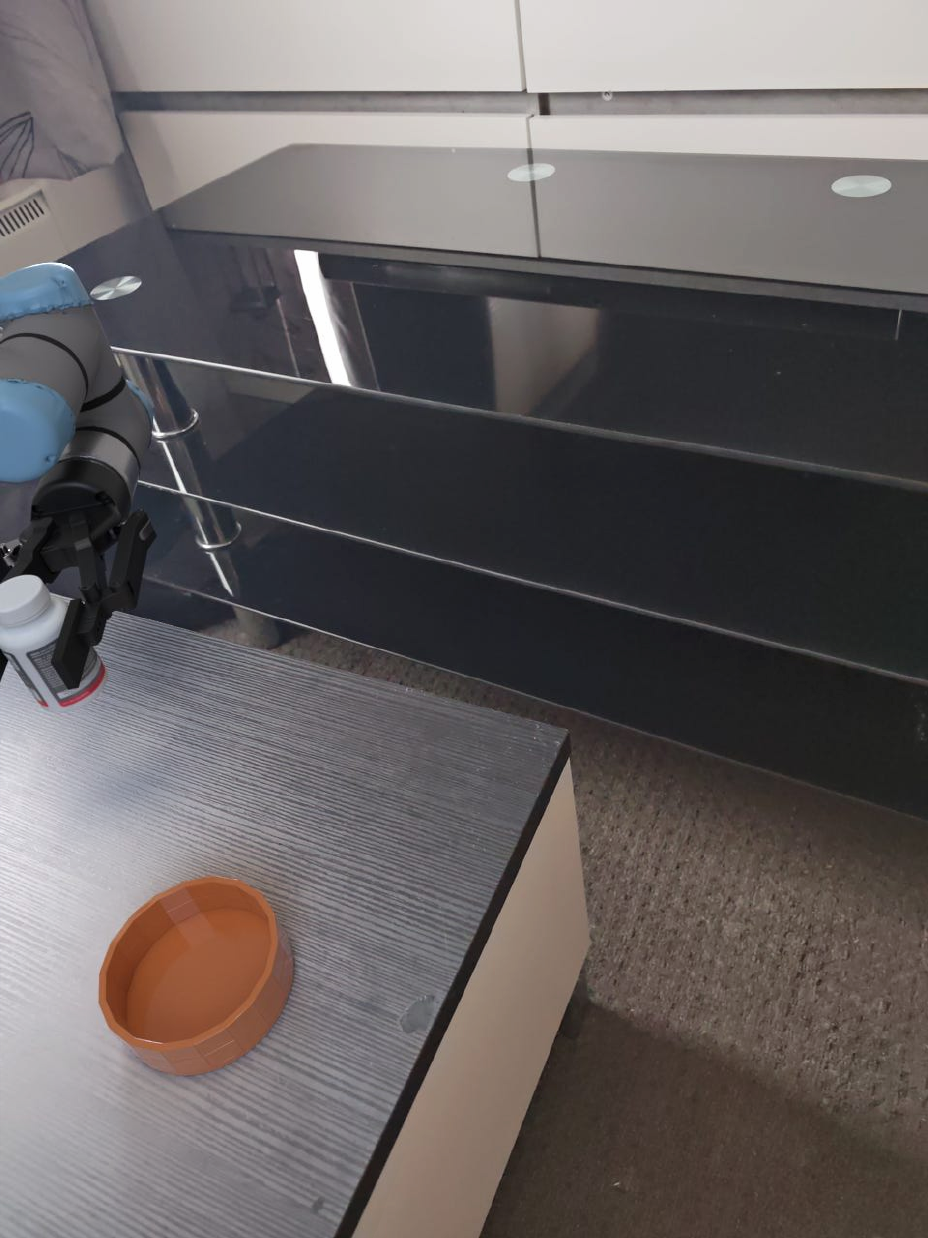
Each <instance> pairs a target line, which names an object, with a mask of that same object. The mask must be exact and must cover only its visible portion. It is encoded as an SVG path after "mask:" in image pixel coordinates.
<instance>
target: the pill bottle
mask: <svg viewBox="0 0 928 1238" xmlns="http://www.w3.org/2000/svg"><path fill="white" fill-rule="evenodd" d="M68 606H69V603H67V602H66V601H65V600H64V599H62V598H61V597H58V596H55V595H51V593H50V590H49V588H48V587H47V586H46V584H45V585H44V583H43V582H42V580H41V579H40V578H39V577H37V576H34V575H22V576H18V577H14V578H12V579H9V580H7V581H5V582H3V583H2V584H0V649H1V650H2V652H3V653H4V655H5V656H6V657H7V659H8V663H9V664H10V665H11V666H12V668H13V669H14V671H15V672H16V674H17V675H18V676H19V678H20V679H21V681H22V682H23V683H24V684H25V686H26V688H27V689H28V691H29V692H30V693H31V695H32V697H34V699H35V700H36V702H37V703H38V704H39V706H40V707H41V708H42V709H44V711H47V712H50V713H53V714H54V713H55V714H63V713H69V712H73V711H76V710H78V709H81V708H82V707H85V706H86V705H88V704H90V703H91V702H92V701H94V700H95V699H96V698H97V697H99V695H101V693H102V692H103V691H104V689H105V687H106V685H107V682H108V679H109V673H108V669H107V667H106V665H105V664H104V662H103V661H102V659H101V657H100V656H99V654H98V652H97V650H96V649H95V646H92V647H90V650H89V654H88V657H87V661H86V664H85V668H84V671H83V675H82V679H81V682H80V686H79V688H76V689H71V690H68V689H67V687H66V686H65V684H64V683H63V681H62V680H61V678H60V677H59V675H58V673H57V672H56V670H55V669H54V667H53V666H52V664H51V663H50V662H51V659H52V656H53V653H54V650H55V646H56V643H57V640H58V637H59V634H60V631H61V628H62V625H63V622H64V618H65V615H66V612H67V609H68Z"/></svg>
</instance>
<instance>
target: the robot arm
mask: <svg viewBox="0 0 928 1238" xmlns="http://www.w3.org/2000/svg"><path fill="white" fill-rule="evenodd" d="M94 305H95V303H94V301H93V300H92V299H91V298H90V296H89V295H88V293H87V291H86V288H85V287H84V285H83V283H82V281H81V279H80V277H79V275H78V274H77V272H76V271H75V270H74V269H73V268H72V267H71V266H68V265H67V264H63V263H58V262H46V263H39V264H33V265H30V266H26V267H22V268H20V269H16V270H14V271H12V272H10V273H8V274H6V275H4V276H2V277H0V327H1V328H2V330H3V333H2V334H1V336H0V481H1V482H6V483H24V482H29V481H34V480H37V479H40V480H39V482H38V484H37V487H36V489H35V492H34V493H33V496H32V499H31V503H30V514H29V523H28V524H27V525H26V526H25V527H24V528H22V530H20V532H19V534H18V538H16V539H12V540H10V541H7V542H5V543H0V584H2V583H3V582H5V581H7V580H9V579H12V578H14V577H18V576H22V575H34V576H37V577H39V578H40V579H41V580H42V582H43V583H44V585H45V586H46V585H52V584H53V583H54V582H55V581H56V579H57V578H58V577H59V575H60V574H61V573H62V571H63V570H66V569H69V568H78V573H79V579H80V586H81V587H80V586H78V590H79V591H80V593H81V595H82V596H83V598H84V601H83V599H82V597H79V598H74V599H70V600H69V603H68V609H67V612H66V615H65V618H64V622H63V625H62V628H61V631H60V634H59V637H58V640H57V643H56V646H55V650H54V653H53V656H52V659H51V662H50V663H51V664H52V666H53V667H54V669H55V670H56V672H57V673H58V675H59V677H60V678H61V680H62V681H63V683H64V684H65V686H66V687H67V689H68V690H71V689H76V688H79V686H80V682H81V679H82V675H83V671H84V668H85V664H86V661H87V657H88V654H89V650H90V647H92V646H93V647H96V646H99V644H100V643H101V642H102V640H103V636H104V633H105V630H106V626H107V622H108V621H109V620H110V619H111V618H112V617H113V615H114V613H115V612H116V611H119V610H121V611H122V612H125V613H127V612H131V611H133V610H135V609H136V608H137V607H138V603H139V598H140V593H141V589H142V588H141V587H142V581H143V575H144V571H145V565H146V559H147V554H148V550H149V549H150V547H151V546H152V544H153V543H154V542H155V540H156V538H157V536H158V535H157V532H156V530H155V528H154V525H153V524H152V521H151V520H150V517H149V515H148V513H147V511H146V510H145V509H142V508H141V509H136V510H135V511H133V512H132V513H131V510H132V505H133V501H134V497H135V494H136V491H137V486H138V483H139V480H140V476H141V470H142V467H143V464H144V460H145V457H146V455H147V452H148V450H149V449H150V446H151V443H152V438H153V430H154V410H153V407H152V404H151V401H150V399H149V397H148V396H147V395H146V394H145V392H143V390H141V389H140V388H139V387H138V386H137V385H135V384H134V383H133V382H132V381H129V380H128V379H126V377H125V376H124V374H123V372H122V370H121V367H120V365H119V362H118V361H117V359H116V356H115V354H114V351H113V349H112V346H111V345H110V341H109V340H108V337H107V334H106V333H105V331H104V329H103V325H102V323H101V321H100V319H99V316H98V314H97V312H96V310H95V308H94ZM115 544H116V549H115V554H114V558H113V562H112V565H111V571H110V576H109V580H107V573H106V572H107V564H106V558H105V556H106V552H107V551H108V550H110V549H111V548H112V547H113V546H114V545H115ZM8 663H9V660H8V659H7V657H6V656H5V655H4V653H3V652H2V650H1V649H0V683H1V682H2V679H3V677H4V674H5V671H6V668H7V666H8Z"/></svg>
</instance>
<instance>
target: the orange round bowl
mask: <svg viewBox="0 0 928 1238" xmlns="http://www.w3.org/2000/svg"><path fill="white" fill-rule="evenodd" d="M294 971H295V965H294V954H293V949H292V945H291V943H290V939H289V936H288V935H287V932H286V931H285V929H284V927H283V926H282V924H281V922H280V920H279V919H278V917H277V915H276V912H274V910H273V909H272V906H271V905H270V904H269V902H268V901H267V899H266V898H265V896H264V895H263V893H262V892H261V891H259V890H258V889H256V888H254V887H253V886H251V885H249V884H248V883H246V882H244V881H242V880H241V879H236V878H229V877H223V876H216V875H212V876H205V877H200V878H194V879H188V880H185V881H181V882H179V883H177V884H176V885H173V886H171V887H169V888H167V889H165V890H163V891H161V892H159V893H157V894H155V895H154V896H153V897H152V898H150V899H149V900H147V902H146V903H144V904H143V905H142V906H141V907H140V908H138V909H137V910H136V911H135V912H133V913H132V914H131V915H130V916H129V917H128V919H127V920H126V921H125V923H124V924H123V925H122V927H121V928H120V930H119V931H117V933H116V935H115V936H114V937H113V939H112V940H111V941H110V944H109V946H108V948H107V951H106V954H105V956H104V959H103V962H102V965H101V967H100V969H99V973H98V1002H97V1003H98V1006H99V1008H100V1010H101V1013H102V1015H103V1017H104V1020H105V1022H106V1024H107V1027H108V1029H109V1030H110V1031H111V1033H113V1034H114V1036H116V1037H117V1039H118V1040H119V1041H120V1042H121V1043H122V1044H123V1045H124V1046H125V1047H126V1048H127V1049H128V1050H129V1051H130V1052H131V1053H132V1054H134V1055H135V1056H136V1057H137V1058H138V1059H139V1060H140V1061H142V1062H143V1063H144V1064H145V1065H147V1066H148V1067H150V1068H152V1069H153V1070H155V1071H158V1072H160V1073H163V1074H168V1075H172V1076H184V1077H186V1076H187V1077H188V1076H197V1075H202V1074H206V1073H211V1072H214V1071H216V1070H218V1069H219V1070H220V1069H222V1068H224V1067H226V1066H228V1065H230V1064H232V1063H234V1062H235V1061H237V1060H239V1059H240V1058H241V1057H243V1056H244V1055H246V1054H248V1052H250V1051H251V1050H252V1049H254V1047H256V1046H257V1045H258V1044H259V1043H260V1042H261V1041H262V1040H263V1039H264V1038H265V1037H266V1036H267V1034H268V1033H269V1032H270V1030H271V1029H273V1027H274V1025H275V1024H276V1022H277V1021H278V1019H279V1018H280V1016H281V1014H282V1012H283V1010H284V1009H285V1006H286V1004H287V1002H288V1000H289V995H290V993H291V989H292V985H293V981H294Z"/></svg>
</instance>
